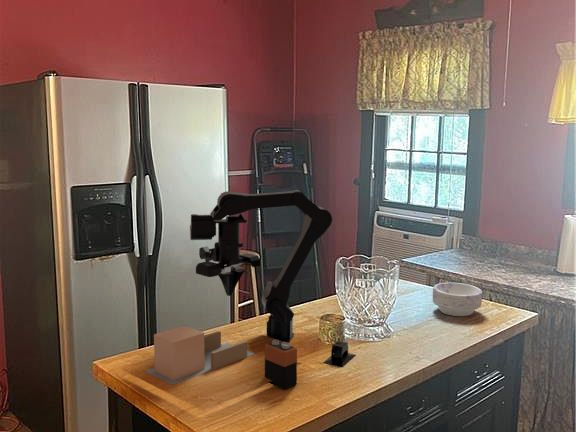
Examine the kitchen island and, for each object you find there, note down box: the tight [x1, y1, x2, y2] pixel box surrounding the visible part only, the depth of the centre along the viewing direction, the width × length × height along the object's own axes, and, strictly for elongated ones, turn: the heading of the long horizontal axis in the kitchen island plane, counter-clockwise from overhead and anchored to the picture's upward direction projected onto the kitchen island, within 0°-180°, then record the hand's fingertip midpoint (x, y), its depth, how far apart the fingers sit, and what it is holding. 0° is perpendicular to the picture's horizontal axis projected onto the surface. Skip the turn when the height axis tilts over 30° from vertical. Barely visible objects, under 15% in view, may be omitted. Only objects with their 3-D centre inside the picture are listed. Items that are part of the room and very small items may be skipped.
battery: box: [264, 339, 298, 390], centre depth 142 cm, size 4×7×10 cm, turn 45°
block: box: [153, 325, 205, 380], centre depth 146 cm, size 9×8×9 cm
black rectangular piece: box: [322, 340, 357, 368], centre depth 157 cm, size 12×7×5 cm, turn 152°
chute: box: [144, 330, 256, 386], centre depth 151 cm, size 26×11×5 cm, turn 137°
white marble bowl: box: [432, 282, 483, 317], centre depth 196 cm, size 15×15×8 cm
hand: (229, 295), depth 167 cm, fingers closed
